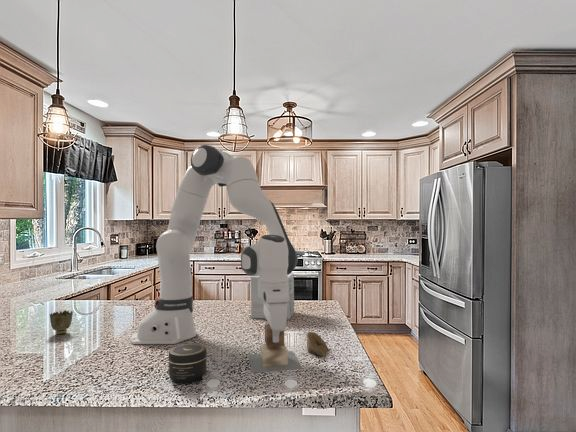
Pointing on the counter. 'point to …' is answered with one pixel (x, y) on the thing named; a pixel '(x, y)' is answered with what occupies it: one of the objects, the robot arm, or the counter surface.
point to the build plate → (258, 366)
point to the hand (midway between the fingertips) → (273, 338)
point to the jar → (187, 363)
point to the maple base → (274, 355)
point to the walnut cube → (269, 337)
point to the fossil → (316, 344)
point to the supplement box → (257, 302)
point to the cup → (61, 321)
